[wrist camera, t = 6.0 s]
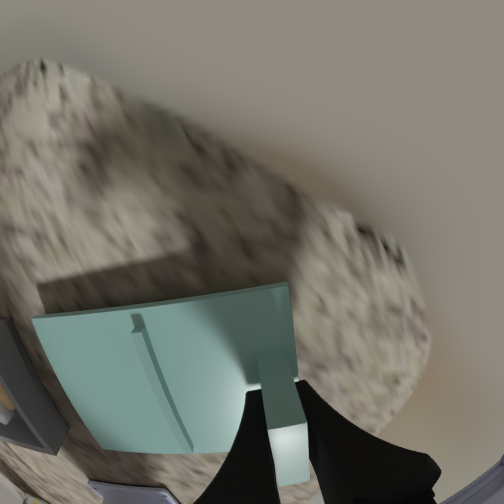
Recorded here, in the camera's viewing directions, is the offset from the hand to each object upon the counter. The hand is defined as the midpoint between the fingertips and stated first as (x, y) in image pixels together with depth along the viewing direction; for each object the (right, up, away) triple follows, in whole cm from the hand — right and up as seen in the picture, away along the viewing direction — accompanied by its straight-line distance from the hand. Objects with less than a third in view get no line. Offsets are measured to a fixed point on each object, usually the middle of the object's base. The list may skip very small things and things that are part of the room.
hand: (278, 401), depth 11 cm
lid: (-5, 0, +2) cm, 5 cm away
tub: (-21, -3, +2) cm, 21 cm away
